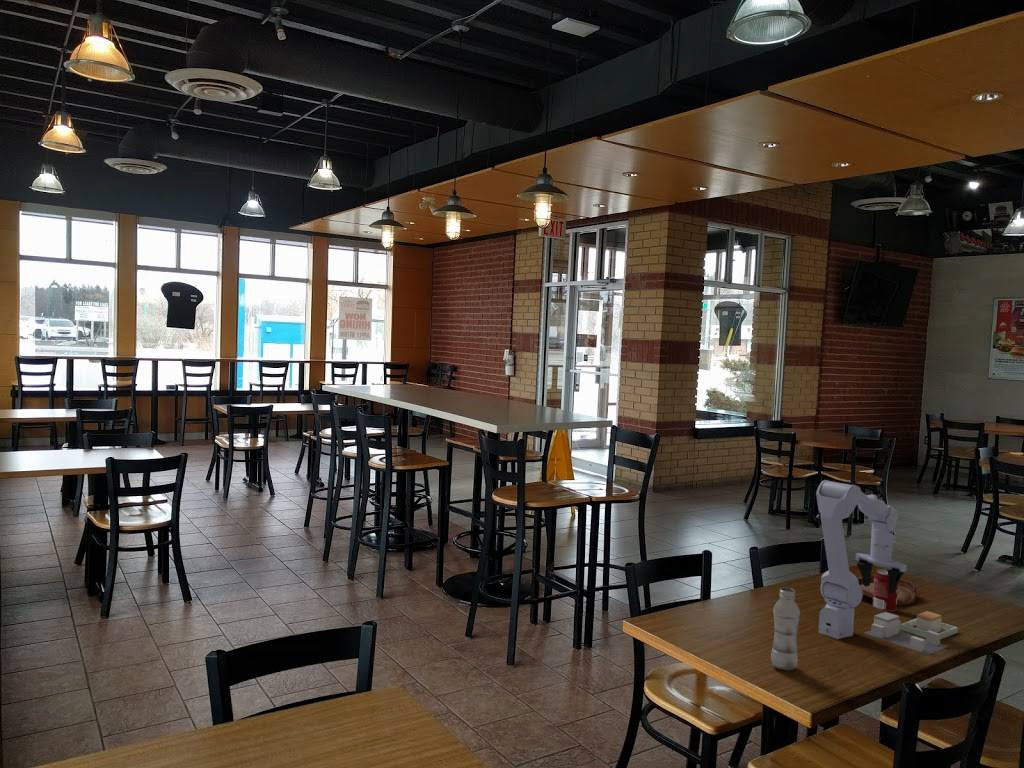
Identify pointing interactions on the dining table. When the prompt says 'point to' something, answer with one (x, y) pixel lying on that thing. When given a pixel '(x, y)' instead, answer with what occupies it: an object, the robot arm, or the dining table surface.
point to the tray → (908, 627)
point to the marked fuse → (929, 622)
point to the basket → (903, 596)
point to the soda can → (883, 592)
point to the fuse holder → (910, 639)
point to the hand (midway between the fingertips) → (879, 589)
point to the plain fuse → (888, 623)
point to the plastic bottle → (785, 631)
